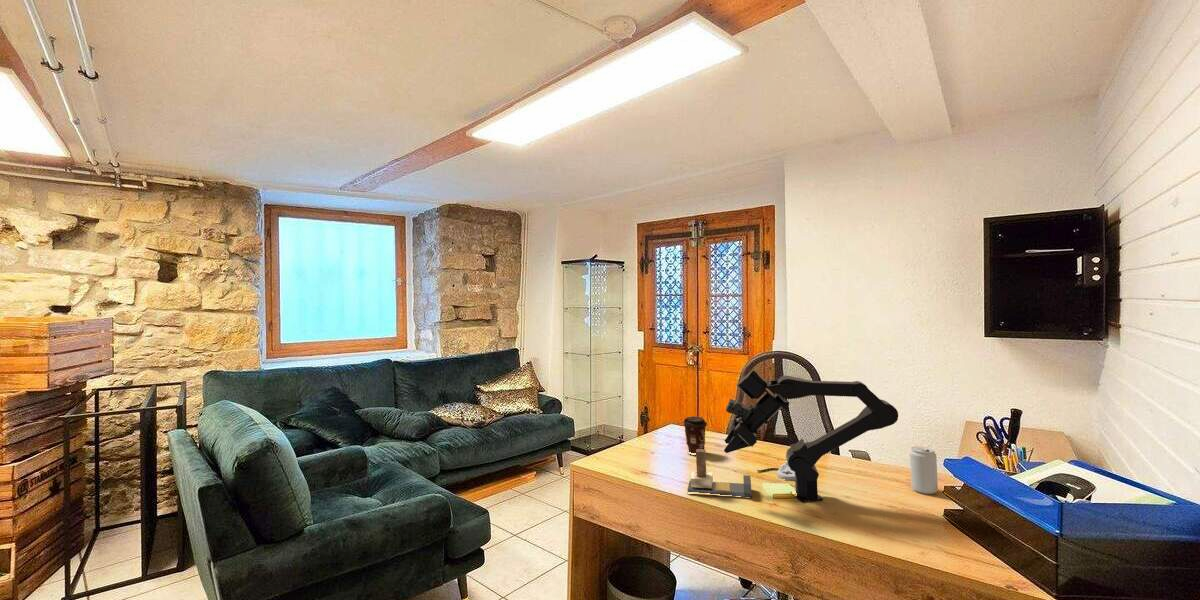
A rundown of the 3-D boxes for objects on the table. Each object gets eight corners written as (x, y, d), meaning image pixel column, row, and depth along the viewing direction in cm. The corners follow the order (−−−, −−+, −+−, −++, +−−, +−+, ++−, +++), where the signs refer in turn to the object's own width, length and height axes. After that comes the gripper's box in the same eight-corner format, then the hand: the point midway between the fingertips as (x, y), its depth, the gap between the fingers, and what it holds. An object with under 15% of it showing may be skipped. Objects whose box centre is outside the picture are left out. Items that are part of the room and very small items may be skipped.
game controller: (796, 483, 152) (796, 477, 152) (754, 476, 159) (754, 470, 159) (806, 468, 165) (806, 462, 165) (767, 462, 172) (766, 457, 172)
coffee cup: (679, 454, 183) (678, 418, 183) (692, 448, 189) (691, 414, 189) (699, 458, 177) (698, 422, 177) (712, 453, 183) (710, 417, 183)
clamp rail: (750, 489, 148) (750, 475, 148) (751, 498, 141) (751, 484, 141) (689, 485, 153) (689, 472, 153) (687, 494, 146) (687, 480, 146)
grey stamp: (712, 480, 150) (711, 447, 150) (711, 488, 145) (710, 454, 145) (692, 479, 152) (691, 447, 152) (691, 487, 146) (689, 453, 146)
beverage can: (925, 496, 138) (924, 453, 138) (905, 488, 144) (904, 447, 144) (943, 493, 139) (941, 450, 139) (923, 485, 146) (921, 444, 146)
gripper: (741, 384, 154) (706, 419, 157) (742, 397, 136) (702, 435, 139) (769, 410, 152) (733, 445, 155) (773, 426, 134) (733, 465, 137)
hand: (725, 447), depth 146 cm, fingers open, 9 cm apart
